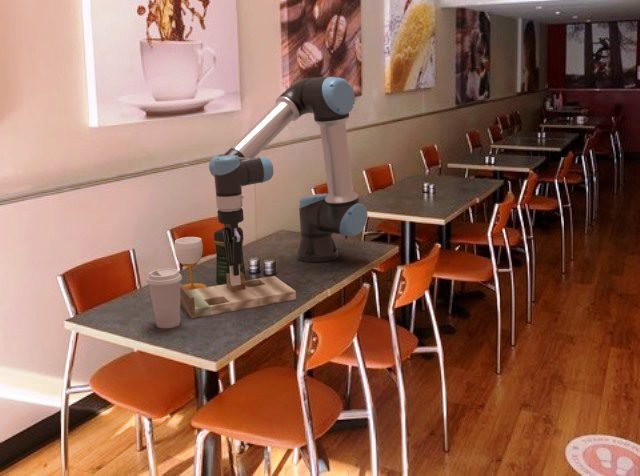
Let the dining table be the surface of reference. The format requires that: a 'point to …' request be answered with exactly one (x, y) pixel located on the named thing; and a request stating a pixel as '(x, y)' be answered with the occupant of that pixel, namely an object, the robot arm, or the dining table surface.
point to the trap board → (234, 296)
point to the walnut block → (237, 287)
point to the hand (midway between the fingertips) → (235, 284)
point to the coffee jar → (224, 258)
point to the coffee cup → (165, 296)
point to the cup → (189, 256)
